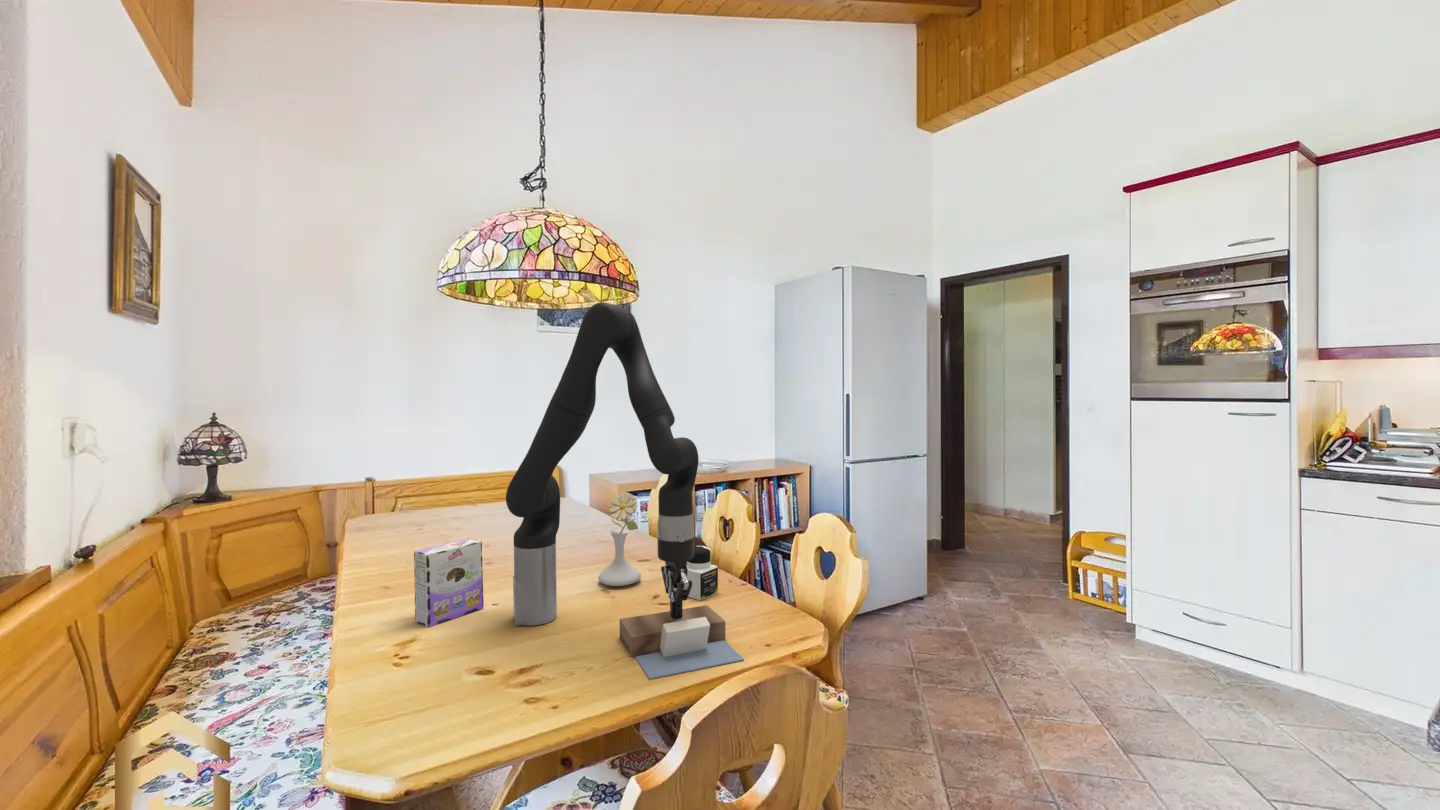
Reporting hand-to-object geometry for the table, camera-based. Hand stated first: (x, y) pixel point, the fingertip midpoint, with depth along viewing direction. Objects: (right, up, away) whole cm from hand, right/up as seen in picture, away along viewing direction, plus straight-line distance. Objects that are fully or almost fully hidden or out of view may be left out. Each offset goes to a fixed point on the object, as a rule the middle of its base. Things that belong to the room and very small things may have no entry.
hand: (676, 617), depth 125 cm
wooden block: (-1, -5, +2) cm, 5 cm away
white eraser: (+2, -1, -5) cm, 5 cm away
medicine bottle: (+4, -4, +29) cm, 29 cm away
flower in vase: (-17, -4, +37) cm, 41 cm away
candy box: (-54, -5, +15) cm, 56 cm away
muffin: (0, -4, +47) cm, 47 cm away
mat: (+3, -5, -8) cm, 10 cm away
